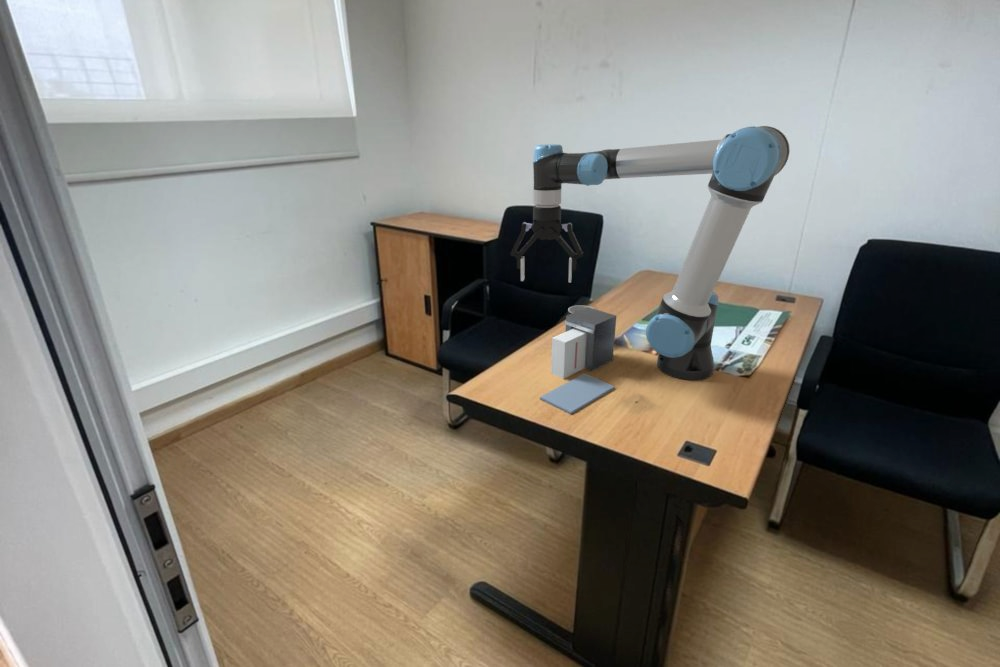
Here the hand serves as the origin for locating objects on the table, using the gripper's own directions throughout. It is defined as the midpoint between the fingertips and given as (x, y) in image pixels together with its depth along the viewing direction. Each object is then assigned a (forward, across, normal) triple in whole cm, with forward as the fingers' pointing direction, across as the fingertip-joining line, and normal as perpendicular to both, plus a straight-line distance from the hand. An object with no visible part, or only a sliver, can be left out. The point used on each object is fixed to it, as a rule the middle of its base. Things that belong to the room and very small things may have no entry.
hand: (546, 280), depth 145 cm
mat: (+23, -11, +24) cm, 35 cm away
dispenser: (+23, -13, +4) cm, 27 cm away
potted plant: (+24, -25, +27) cm, 44 cm away
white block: (+23, -10, +9) cm, 26 cm away
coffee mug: (+23, -10, -12) cm, 28 cm away
